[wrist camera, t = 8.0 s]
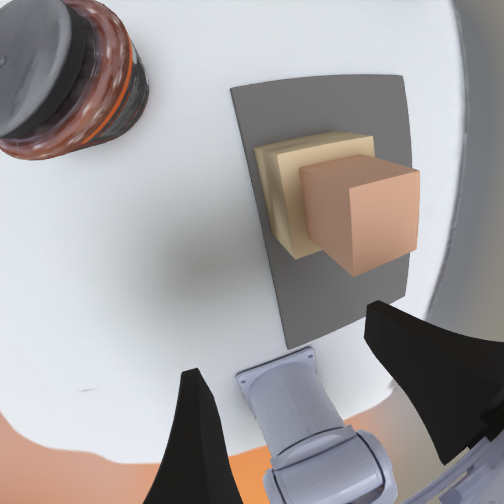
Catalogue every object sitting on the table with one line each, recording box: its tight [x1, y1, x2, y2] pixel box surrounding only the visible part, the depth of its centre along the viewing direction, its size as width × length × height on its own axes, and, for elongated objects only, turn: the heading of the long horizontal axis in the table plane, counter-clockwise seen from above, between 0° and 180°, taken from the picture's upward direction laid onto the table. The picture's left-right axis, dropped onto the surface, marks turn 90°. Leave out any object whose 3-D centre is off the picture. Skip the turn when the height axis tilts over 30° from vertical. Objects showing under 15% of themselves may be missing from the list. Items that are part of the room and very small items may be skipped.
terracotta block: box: [299, 154, 420, 277], centre depth 13 cm, size 4×4×4 cm
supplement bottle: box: [0, 0, 149, 160], centre depth 8 cm, size 6×6×11 cm
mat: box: [230, 74, 412, 350], centre depth 21 cm, size 22×14×1 cm, turn 12°
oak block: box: [254, 131, 375, 260], centre depth 17 cm, size 6×6×4 cm
